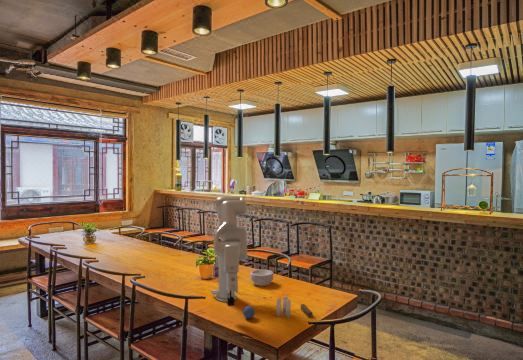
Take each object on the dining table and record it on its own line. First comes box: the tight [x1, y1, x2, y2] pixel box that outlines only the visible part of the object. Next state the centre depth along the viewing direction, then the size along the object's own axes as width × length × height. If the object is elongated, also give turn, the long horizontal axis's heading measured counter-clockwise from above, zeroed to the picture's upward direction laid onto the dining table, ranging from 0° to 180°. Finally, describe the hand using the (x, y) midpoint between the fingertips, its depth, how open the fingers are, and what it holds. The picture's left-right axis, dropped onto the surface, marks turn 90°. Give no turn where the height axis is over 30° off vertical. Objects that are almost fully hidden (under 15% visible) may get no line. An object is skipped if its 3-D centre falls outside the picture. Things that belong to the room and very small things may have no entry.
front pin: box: [276, 297, 282, 317], centre depth 183 cm, size 2×2×9 cm
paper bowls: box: [250, 269, 274, 287], centre depth 233 cm, size 15×15×8 cm
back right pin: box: [285, 299, 292, 319], centre depth 181 cm, size 2×2×9 cm
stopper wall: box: [300, 303, 313, 319], centre depth 186 cm, size 2×12×2 cm, turn 14°
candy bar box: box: [212, 256, 219, 278], centre depth 253 cm, size 11×5×16 cm, turn 138°
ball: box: [242, 305, 256, 320], centre depth 179 cm, size 6×6×6 cm
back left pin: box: [282, 295, 289, 315], centre depth 186 cm, size 2×2×9 cm
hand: (230, 305), depth 176 cm, fingers closed
